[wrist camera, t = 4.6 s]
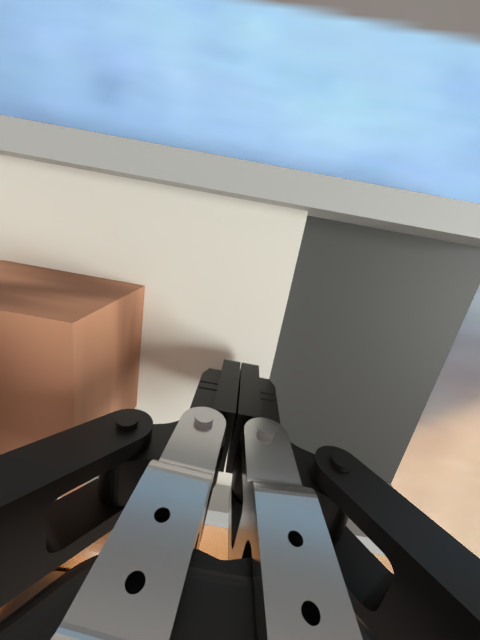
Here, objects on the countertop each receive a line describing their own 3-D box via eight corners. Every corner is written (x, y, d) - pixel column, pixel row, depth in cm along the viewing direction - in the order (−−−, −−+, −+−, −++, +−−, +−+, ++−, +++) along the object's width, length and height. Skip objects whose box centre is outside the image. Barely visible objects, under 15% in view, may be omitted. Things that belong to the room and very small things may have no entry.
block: (144, 285, 12) (72, 323, 7) (136, 405, 14) (74, 499, 9) (3, 260, 12) (-166, 280, 7) (14, 384, 14) (-114, 467, 9)
